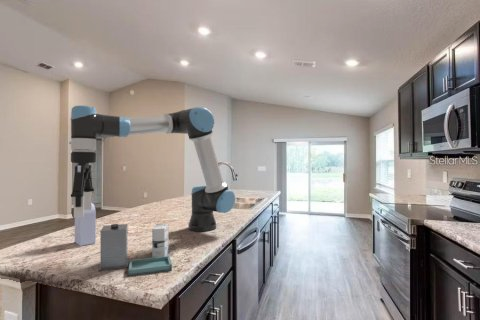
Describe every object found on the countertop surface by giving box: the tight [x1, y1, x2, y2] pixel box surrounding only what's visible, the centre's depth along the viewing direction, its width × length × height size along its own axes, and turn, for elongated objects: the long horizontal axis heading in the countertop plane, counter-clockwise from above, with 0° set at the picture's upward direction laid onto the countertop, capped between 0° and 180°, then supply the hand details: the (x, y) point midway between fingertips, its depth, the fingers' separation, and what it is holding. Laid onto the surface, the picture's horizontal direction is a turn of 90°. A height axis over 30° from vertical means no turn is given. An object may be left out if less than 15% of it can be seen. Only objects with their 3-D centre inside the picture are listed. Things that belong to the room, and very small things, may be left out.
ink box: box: [151, 223, 170, 258], centre depth 107 cm, size 8×5×12 cm, turn 5°
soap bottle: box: [74, 191, 97, 247], centre depth 124 cm, size 9×7×23 cm
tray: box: [128, 255, 173, 277], centre depth 95 cm, size 14×10×2 cm
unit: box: [98, 223, 130, 272], centre depth 98 cm, size 9×9×14 cm
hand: (83, 213), depth 95 cm, fingers open, 13 cm apart
